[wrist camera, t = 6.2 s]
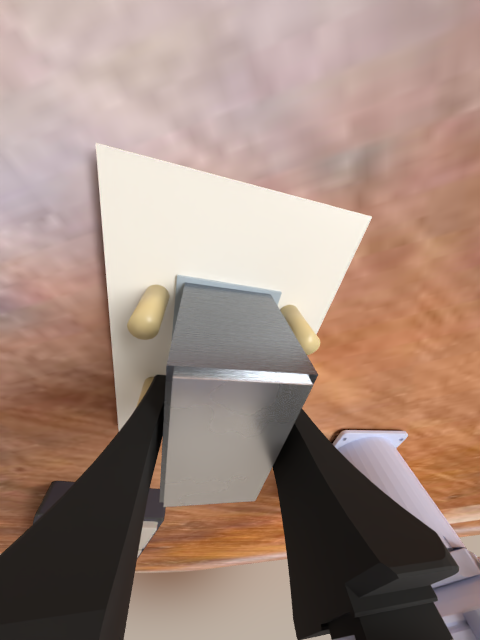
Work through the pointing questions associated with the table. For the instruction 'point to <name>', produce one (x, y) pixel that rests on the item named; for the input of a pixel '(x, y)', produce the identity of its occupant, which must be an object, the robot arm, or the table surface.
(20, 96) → the table surface
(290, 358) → the block
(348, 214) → the cream pegged board
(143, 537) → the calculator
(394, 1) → the table surface
